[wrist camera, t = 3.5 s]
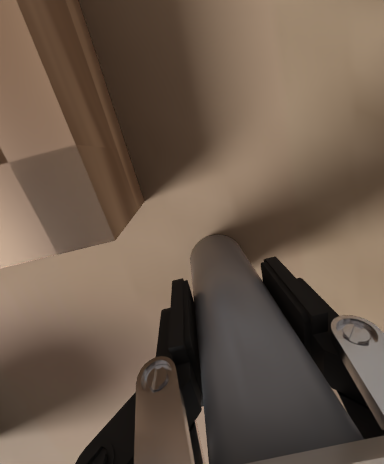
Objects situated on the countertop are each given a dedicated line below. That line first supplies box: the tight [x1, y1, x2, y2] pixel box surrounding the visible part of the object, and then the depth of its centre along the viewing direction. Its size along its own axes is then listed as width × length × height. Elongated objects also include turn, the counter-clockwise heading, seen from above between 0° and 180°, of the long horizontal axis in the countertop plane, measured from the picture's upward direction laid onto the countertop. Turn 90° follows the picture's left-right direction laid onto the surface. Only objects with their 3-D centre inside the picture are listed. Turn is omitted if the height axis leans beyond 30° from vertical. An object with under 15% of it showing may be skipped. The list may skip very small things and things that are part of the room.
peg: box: [190, 235, 364, 464], centre depth 9 cm, size 4×4×11 cm
